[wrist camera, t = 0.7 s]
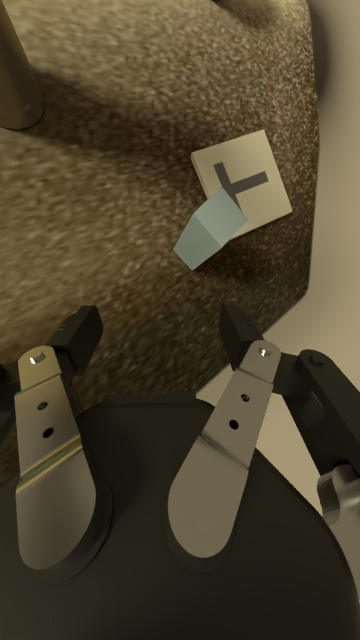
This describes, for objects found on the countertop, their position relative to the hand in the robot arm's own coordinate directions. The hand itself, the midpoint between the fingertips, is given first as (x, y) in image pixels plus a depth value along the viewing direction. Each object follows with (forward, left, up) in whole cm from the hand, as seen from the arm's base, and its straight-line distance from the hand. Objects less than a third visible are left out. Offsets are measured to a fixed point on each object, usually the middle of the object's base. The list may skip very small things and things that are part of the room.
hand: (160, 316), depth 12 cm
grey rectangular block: (-7, +13, -20) cm, 25 cm away
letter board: (-14, +28, -20) cm, 37 cm away
